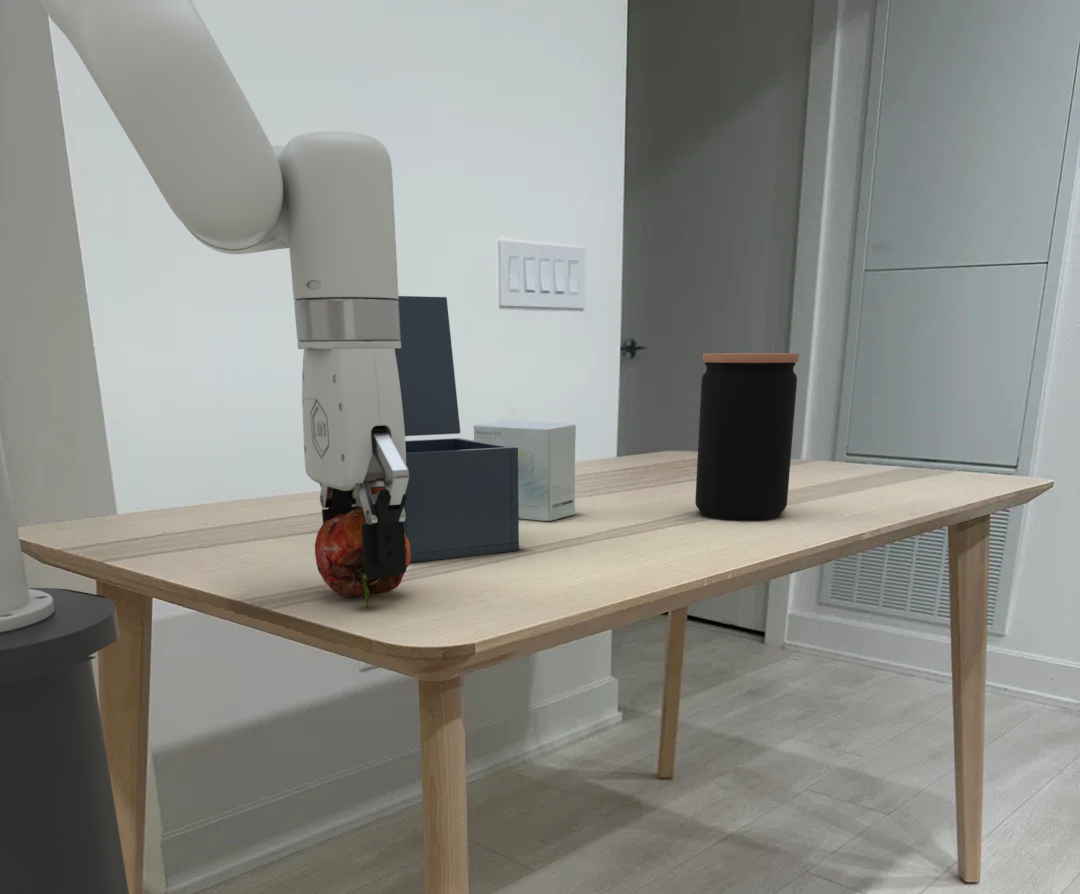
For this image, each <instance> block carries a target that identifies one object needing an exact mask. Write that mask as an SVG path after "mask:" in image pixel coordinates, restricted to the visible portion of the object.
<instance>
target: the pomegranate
mask: <svg viewBox="0 0 1080 894" xmlns="http://www.w3.org/2000/svg"><path fill="white" fill-rule="evenodd" d="M366 523H367V522H366V519H365V515H364V511H363V508H358V509H354V510H352V511H350V512H349V513H347V514H346V515H343V514H340V515H337V516H336V517H334V518H332V519H330V520H328V521H326V522H324V523H323V522H322V525H321V527H320V528H319V530H318V531H317V533H316V534H317V535H316V538H315V543H314V556H315V562H316V563H315V564H316V566H317V571H318V573H319V575H320V576H321V578H322V580H323V582H324V583H325V585H327V586H328V587H329V588H330V590H332V591H333V592H334V593H337V595H339V596H341V597H347V598H348V597H358V596H364V598H365V607H366V609H367V610H368V609H369V603H370V600H369V595H370V596H371V595H373V596H374V595H383V594H386V593H389V592H392V591H393V590H396V589H397V588H398V587H399V586H400V584H401V583H402V581H403V579H404V575H405V573H404V574H401V575H392V576H384V577H376V578H370V577H367V576H366V575H365V572H364V558H363V544H362V529H361V524H366ZM405 552H406V569H407V568H408V567H409V566H410V557H411V551H410V543H409V541H408V539H407V537H406V535H405Z"/></svg>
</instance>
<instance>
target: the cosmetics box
mask: <svg viewBox="0 0 1080 894" xmlns="http://www.w3.org/2000/svg"><path fill="white" fill-rule="evenodd" d="M576 429H577V426H576V424H575V423H563V422H560V423H559V422H546V421H545V422H543V421H523V420H522V421H521V420H517V421H516V420H497V421H491V422H485V423H479V424H474V425H473V440H474V441H480V442H486V443H493V444H499V445H505V446H511V447H517V448H518V511H519V519H522V520H529V521H531V520H532V521H541V522H552V521H556V520H558V519H559V520H560V519H562V518H565V517H570V516H574V515H575V514H576V502H575V501H576V484H575V483H576V434H577V433H576Z"/></svg>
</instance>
